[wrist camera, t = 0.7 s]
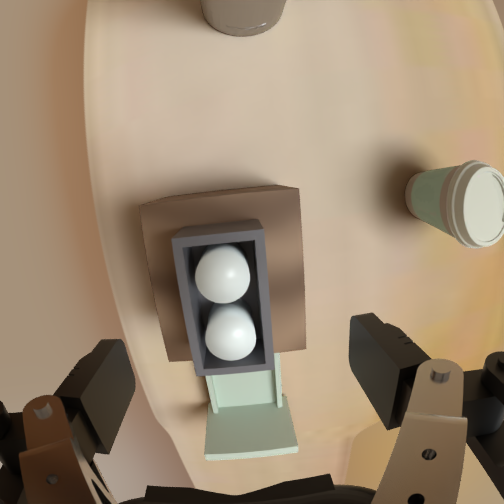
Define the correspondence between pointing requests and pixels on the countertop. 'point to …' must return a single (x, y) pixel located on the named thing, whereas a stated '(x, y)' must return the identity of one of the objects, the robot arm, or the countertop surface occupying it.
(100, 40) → the countertop surface
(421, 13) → the countertop surface
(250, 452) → the pullout shelf
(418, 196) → the coffee cup
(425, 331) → the countertop surface
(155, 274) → the small wooden cabinet
